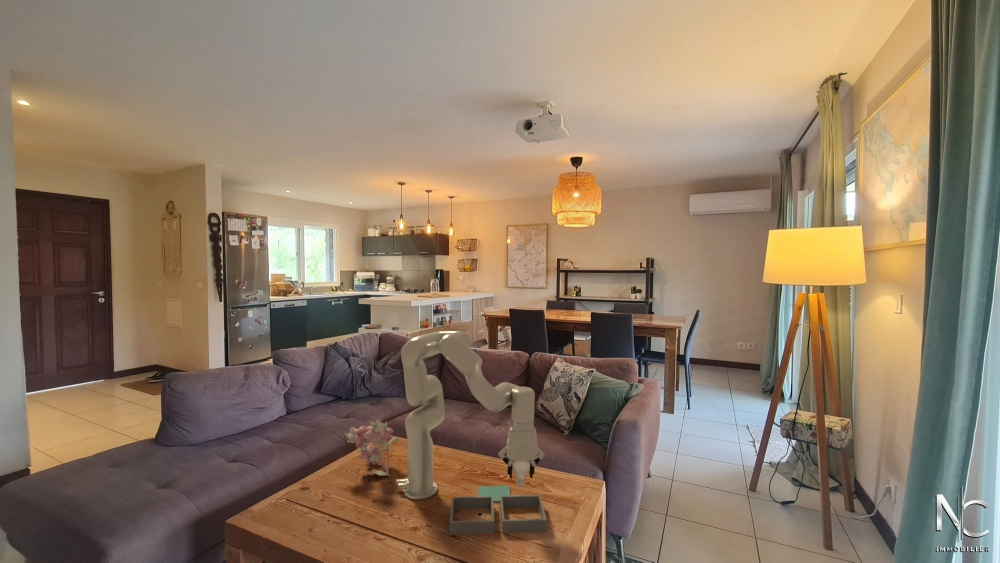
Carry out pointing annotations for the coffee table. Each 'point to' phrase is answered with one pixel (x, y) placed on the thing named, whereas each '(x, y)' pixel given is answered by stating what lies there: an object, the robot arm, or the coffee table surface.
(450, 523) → the box
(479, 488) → the mat
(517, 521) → the box
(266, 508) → the coffee table surface
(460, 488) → the coffee table surface
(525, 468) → the lightbulb
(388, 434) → the flower
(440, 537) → the coffee table surface
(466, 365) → the robot arm
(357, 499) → the coffee table surface
